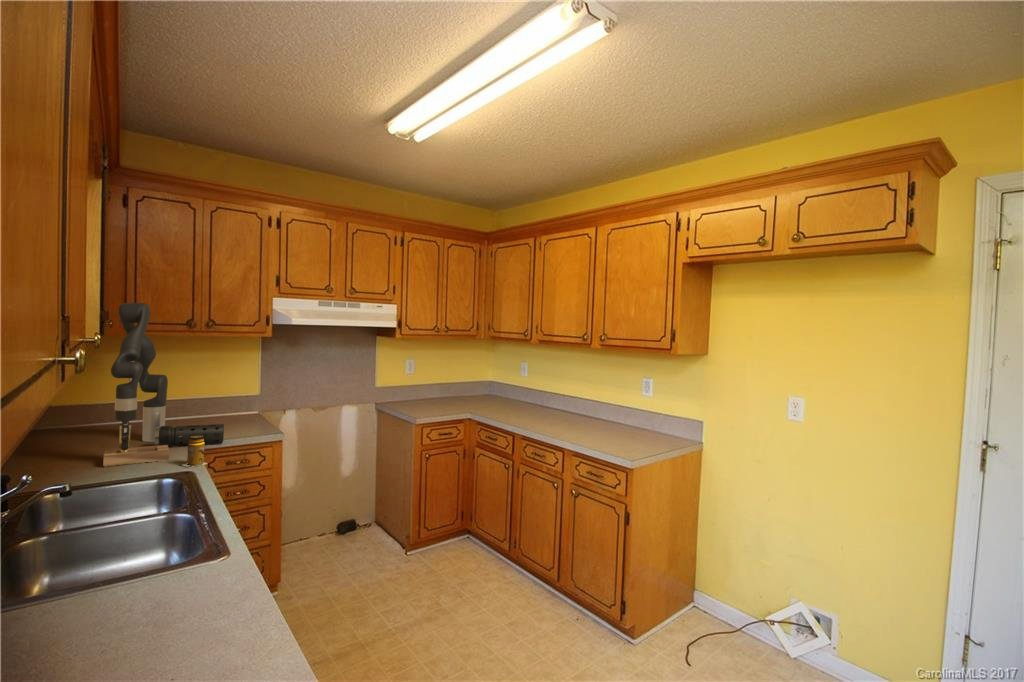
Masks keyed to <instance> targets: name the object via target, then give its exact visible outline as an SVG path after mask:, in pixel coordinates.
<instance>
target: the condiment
mask: <svg viewBox="0 0 1024 682" xmlns="http://www.w3.org/2000/svg"><path fill="white" fill-rule="evenodd" d="M205 446H206V444H205V443H204V436H200V435H198V436H191V437H190V438H189V443H188V444H187V460H186V461H187V462H186V463H188V464H187V465H190V466H192V467H191V468H194V467H200V466H204V465H208V462H205Z"/></svg>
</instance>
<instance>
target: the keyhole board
mask: <svg viewBox="0 0 1024 682" xmlns="http://www.w3.org/2000/svg"><path fill="white" fill-rule="evenodd" d="M169 448H170V447H169V446H168V445H152V446H151V445H150V446H139V447H137V446H136V447H130V448H128V452H124V453H121V449H119V448H116V449H115V448H114V449H105V450H104V453H103V465H102V467H103V466H107V465H116V464H125V463H138V462H151V461H162V462H164V461H163V460H169V461H170V449H169Z"/></svg>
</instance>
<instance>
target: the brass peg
mask: <svg viewBox="0 0 1024 682" xmlns="http://www.w3.org/2000/svg"><path fill="white" fill-rule="evenodd" d="M131 429H132V428H131ZM131 429H130V431H131ZM121 437H122V436H120V435H119V438H118V439H119V441H118V444H119V445H118V449H121V446H122V441H121ZM125 437H127V436H123V438H125ZM128 448H131V434H130V435H129V441H128ZM124 452H128V449H127V450H122V449H121V453H124Z"/></svg>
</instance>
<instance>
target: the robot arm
mask: <svg viewBox="0 0 1024 682" xmlns="http://www.w3.org/2000/svg"><path fill="white" fill-rule="evenodd" d="M117 309H118V315H119V319H120V321H121V324H122V327H123V329H124V331H125V333H126V335H125V336H124V338H123V339H122V340H121V343H120V350H119V353H118V356H117V357H116V359H115V361H114V363H112V366H111V368H110V373H111V376H112V377H113V378H115V379H131V380H130V381H129V382H127V383H120V384H118V385H116V388H115V402H114V421H117V422H120V421H121V423H119V437H120V436H122V437H121V441H122V446H121V449H122V450H127V449H128V441H129V435H130V436H131V430H130V429H132V423H131V422H130V421H134V420H136V419H137V418H138V399H137V398H138V397H137V395H138V394H137V393H138V387H139V388H140V390H141V391H142V392H143V393H145V394H147V393H150V394H151V393H154V394H155V393H156V394H155V396H153V397H152V398H150V399H149V398H148V399H145V400H144V401H143V403H142V404H143V405H142V434H141V436H142V437H141V441H142V442H151V443H153V442H154V443H155V441H154V438H155V429H156V428H157V427H161V426H166V413H167V412H166V407H167V405H166V403H167V399H168V398H167V396H168V395H167V394H168V384H169V380H168V377H167V375H166V374H155V373H154V374H151V373H149V368H150V366H151V365H152V363H153V362H154V360H155V359H156V356H157V352H156V347H155V344H154V342H153V340H152V339H151V338H150V337H149V336H147V335H146V331H147V328H148V326H149V322H150V319H151V308H150V305H149V304H148V303H146V302H124V303H120V304H119V306H118V308H117ZM138 385H139V386H138ZM123 436H127V437H125V438H123Z"/></svg>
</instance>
